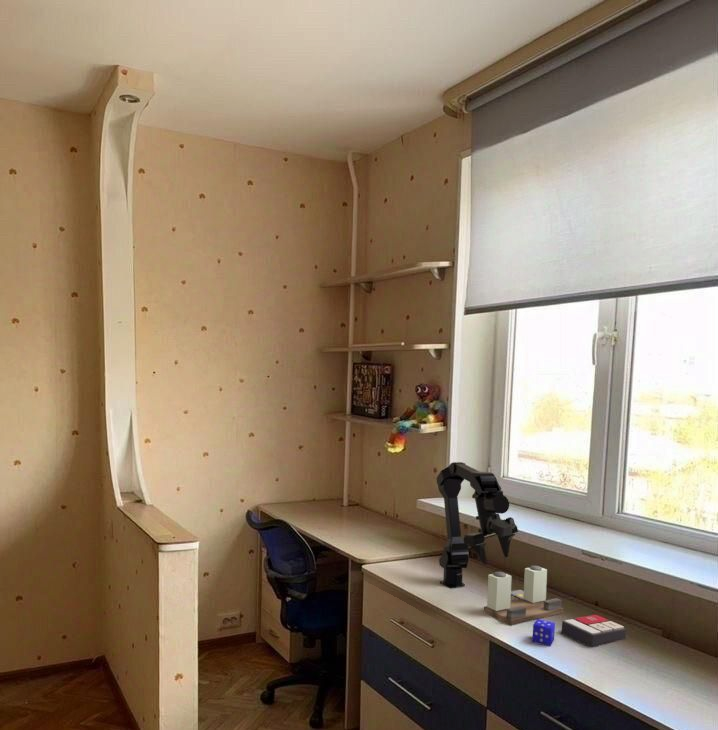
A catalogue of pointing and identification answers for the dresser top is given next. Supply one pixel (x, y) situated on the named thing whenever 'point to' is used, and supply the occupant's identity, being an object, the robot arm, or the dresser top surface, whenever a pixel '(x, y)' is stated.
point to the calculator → (593, 630)
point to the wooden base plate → (526, 611)
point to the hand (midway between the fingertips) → (496, 560)
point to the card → (518, 593)
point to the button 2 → (535, 584)
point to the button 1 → (499, 591)
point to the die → (543, 632)
